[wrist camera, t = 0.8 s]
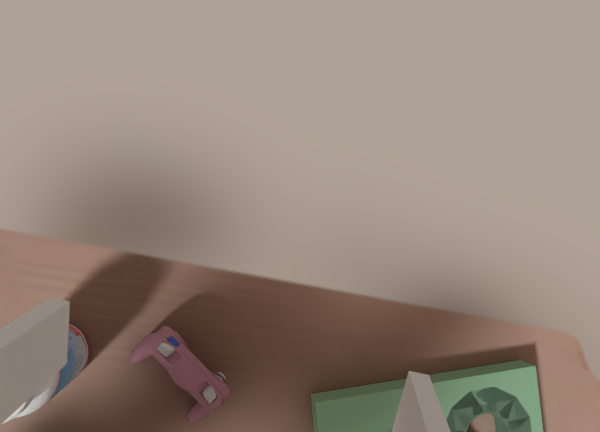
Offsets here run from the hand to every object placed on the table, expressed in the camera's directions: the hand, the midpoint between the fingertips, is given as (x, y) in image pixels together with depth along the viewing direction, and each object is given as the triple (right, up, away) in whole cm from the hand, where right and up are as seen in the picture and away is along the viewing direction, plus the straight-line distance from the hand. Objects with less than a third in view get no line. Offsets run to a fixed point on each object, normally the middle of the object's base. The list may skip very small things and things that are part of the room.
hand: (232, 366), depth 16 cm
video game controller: (-10, -10, +27) cm, 31 cm away
